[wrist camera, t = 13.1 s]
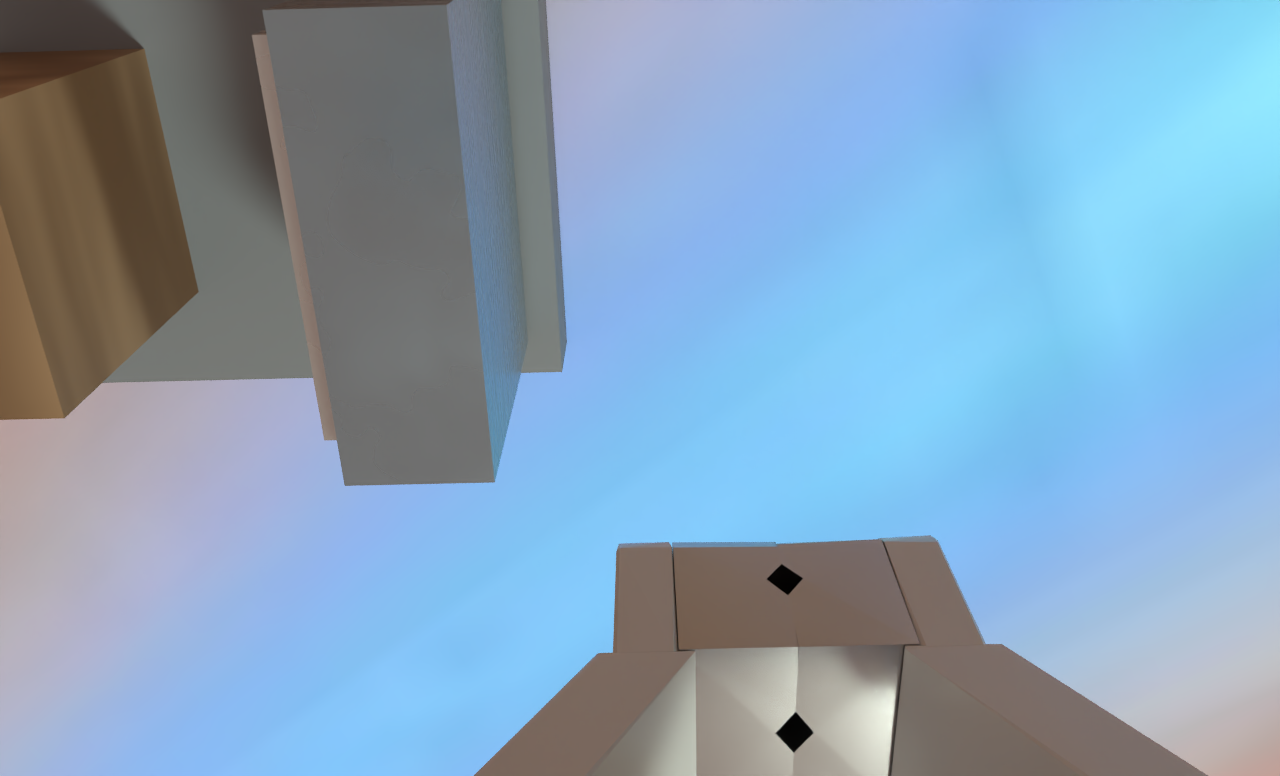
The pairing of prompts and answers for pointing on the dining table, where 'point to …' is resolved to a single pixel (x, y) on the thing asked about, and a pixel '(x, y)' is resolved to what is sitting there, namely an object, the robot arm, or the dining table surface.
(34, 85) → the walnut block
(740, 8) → the dining table surface
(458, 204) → the block
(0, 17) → the vise body
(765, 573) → the robot arm
